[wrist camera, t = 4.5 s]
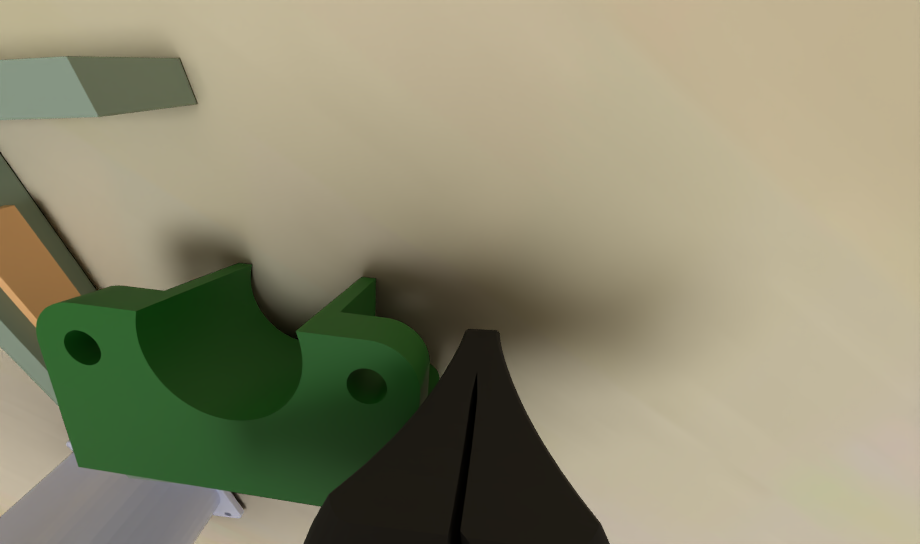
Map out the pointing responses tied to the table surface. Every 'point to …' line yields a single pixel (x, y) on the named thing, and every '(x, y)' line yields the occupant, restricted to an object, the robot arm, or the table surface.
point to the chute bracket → (14, 212)
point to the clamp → (231, 385)
